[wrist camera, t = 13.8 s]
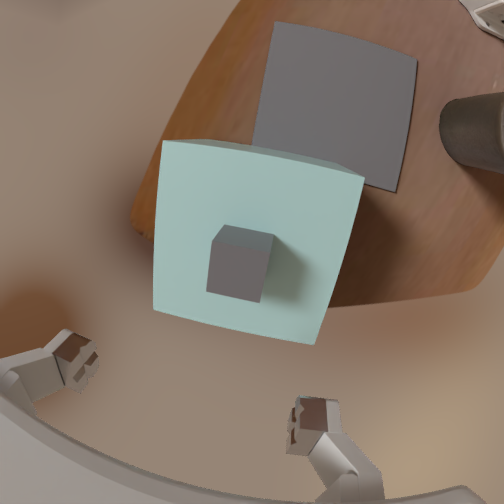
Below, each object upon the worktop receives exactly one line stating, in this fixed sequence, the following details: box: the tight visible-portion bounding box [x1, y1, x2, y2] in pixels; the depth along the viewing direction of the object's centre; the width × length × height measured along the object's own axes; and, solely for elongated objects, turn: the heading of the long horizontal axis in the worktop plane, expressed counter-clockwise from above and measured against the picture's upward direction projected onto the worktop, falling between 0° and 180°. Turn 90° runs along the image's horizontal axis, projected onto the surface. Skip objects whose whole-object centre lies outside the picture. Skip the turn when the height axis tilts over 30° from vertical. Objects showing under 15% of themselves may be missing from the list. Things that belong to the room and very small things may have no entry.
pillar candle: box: [439, 92, 504, 174], centre depth 23 cm, size 10×10×15 cm
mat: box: [251, 21, 417, 192], centre depth 31 cm, size 19×19×1 cm
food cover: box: [153, 139, 365, 345], centre depth 29 cm, size 16×16×18 cm
